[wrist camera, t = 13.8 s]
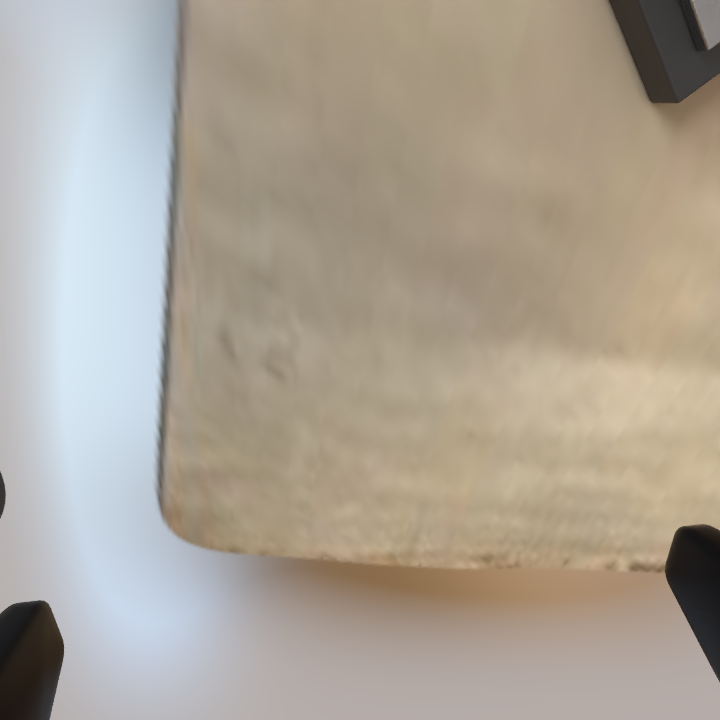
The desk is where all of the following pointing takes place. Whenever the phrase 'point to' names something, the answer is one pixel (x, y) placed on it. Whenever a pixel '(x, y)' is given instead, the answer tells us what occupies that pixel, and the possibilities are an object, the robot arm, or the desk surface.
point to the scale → (672, 44)
